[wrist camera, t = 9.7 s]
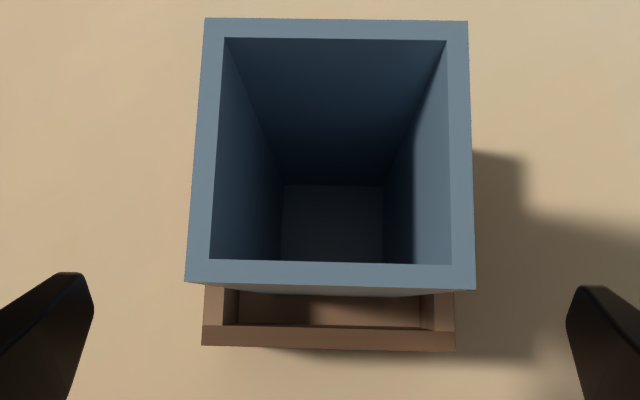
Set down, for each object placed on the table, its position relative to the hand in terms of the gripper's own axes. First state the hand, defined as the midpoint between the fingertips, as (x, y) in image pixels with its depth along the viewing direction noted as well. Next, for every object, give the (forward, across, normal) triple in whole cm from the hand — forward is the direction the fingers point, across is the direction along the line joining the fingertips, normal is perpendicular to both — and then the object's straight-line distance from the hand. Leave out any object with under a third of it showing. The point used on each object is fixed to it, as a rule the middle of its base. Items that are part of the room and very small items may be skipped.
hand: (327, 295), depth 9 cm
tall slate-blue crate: (+11, 0, +7) cm, 13 cm away
